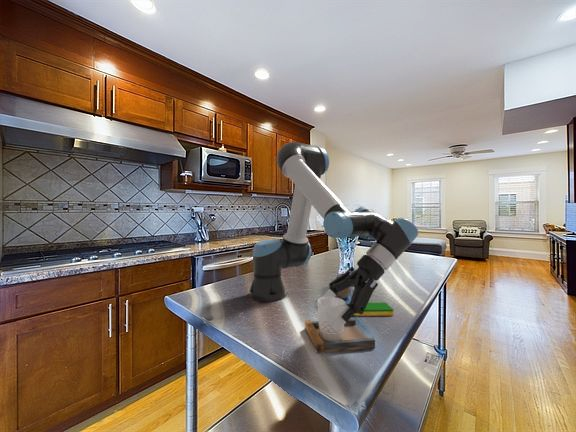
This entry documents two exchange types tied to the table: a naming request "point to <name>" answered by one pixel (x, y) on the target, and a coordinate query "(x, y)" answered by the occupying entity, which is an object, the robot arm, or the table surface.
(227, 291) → the table surface
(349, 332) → the wooden tray
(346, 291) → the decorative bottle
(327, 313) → the white cup
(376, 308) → the dish sponge
